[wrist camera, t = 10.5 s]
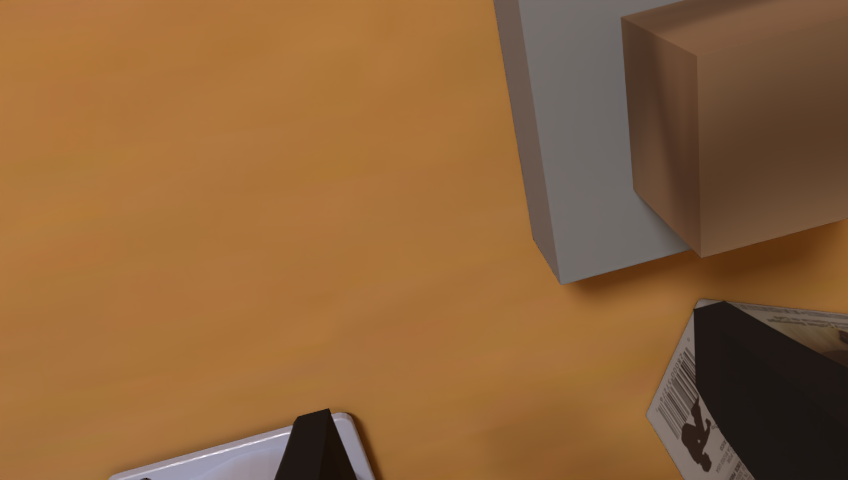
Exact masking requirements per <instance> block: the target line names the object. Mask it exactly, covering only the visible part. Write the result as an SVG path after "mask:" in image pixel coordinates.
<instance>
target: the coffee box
mask: <svg viewBox="0 0 848 480" xmlns="http://www.w3.org/2000/svg"><path fill="white" fill-rule="evenodd" d="M717 302H721V301H717V300H708V299H700V300H699V301H698V302H697V304H696V306H695V308H699V307H703V306H706V305H710V304H714V303H717ZM726 302H727V301H726ZM727 303H729V304H731V305H733V306H735V307H737V308H738V309H740V310H742V311H744V312H746V313H747V314H749V315H751V316H753V317H754V318H756V319H758V320H760V321H761V322H763V323H765V324H767V325H769V326H770V327H772V328H774V329H776V330H778V331H779V332H781V333H783V334H785V335H787V336H788V337H790V338H792V339H794V340H796V341H797V342H799V343H801V344H803V345H805V346H807V347H809V348H810V349H812V350H814V351H816V352H818V353H820V354H822V355H824V356H826V357H828V358H830V359H832V360H834V361H836V362H838V363H840V364H842V365H844V366H846V367H848V314H842V313H832V312H823V311H813V310H804V309H794V308H785V307H775V306H765V305H756V304H747V303H737V302H727ZM646 417H647V419H648V420H649V422H650V423H651V425H652V426H653V428H654V430H655V431H656V433H657V435H658V436H659V438H660V439H661V441H662V443H663V444H664V446H665V448H666V450H667V452H668V453H669V455H670V457H671V458H672V460H673V462H674V463H675V465H676V467H677V468H678V470H679V472H680V474H681V475H682V477H683V479H684V480H755V479H754V477H753V476H752V475H751V473H750V472H749V471H748V469H747V468H746V466H745V465H744V464H743V462H742V461H741V460H740V458H739V457H738V456H737V454H736V453H735V451H734V450H733V449H732V447H731V446H730V445H729V443H728V442H727V441H726V439H725V438H724V436H723V435H722V434H721V432H720V430H719V428H718V427H717V425H716V423H715V422H714V420H713V418H712V416H711V415H710V413H709V411H708V409H707V407H706V406H705V404H704V402H703V400H702V398H701V396H700V395H699V393H698V391H697V389H696V384H695V348H694V312H693V313H692V315H691V317H690V320H689V322H688V324H687V326H686V329H685V331H684V333H683V335H682V337H681V339H680V341H679V344H678V346H677V348H676V350H675V352H674V354H673V357H672V359H671V361H670V363H669V365H668V368H667V370H666V372H665V374H664V376H663V379H662V381H661V383H660V385H659V387H658V390H657V392H656V394H655V396H654V398H653V401H652V403H651V405H650V407H649V409H648V412H647V414H646Z"/></svg>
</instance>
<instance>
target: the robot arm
mask: <svg viewBox="0 0 848 480" xmlns="http://www.w3.org/2000/svg"><path fill="white" fill-rule="evenodd" d="M693 312H694V348H695V384H696V389H697V391H698V393H699V395H700V396H701V398H702V400H703V402H704V404H705V406H706V407H707V409H708V411H709V413H710V415H711V416H712V418H713V420H714V422H715V423H716V425H717V427H718V428H719V430H720V432H721V434H722V435H723V436H724V438H725V439H726V441H727V442H728V443H729V445H730V446H731V447H732V449H733V450H734V451H735V453H736V454H737V456H738V457H739V458H740V460H741V461H742V462H743V464H744V465H745V466H746V468H747V469H748V471H749V472H750V473H751V475H752V476H753V477H754V479H755V480H848V367H846V366H844V365H842V364H840V363H838V362H836V361H834V360H832V359H830V358H828V357H826V356H824V355H822V354H820V353H818V352H816V351H814V350H812V349H810V348H809V347H807V346H805V345H803V344H801V343H799V342H797V341H796V340H794V339H792V338H790V337H788V336H787V335H785V334H783V333H781V332H779V331H778V330H776V329H774V328H772V327H770V326H769V325H767V324H765V323H763V322H761V321H760V320H758V319H756V318H754V317H753V316H751V315H749V314H747V313H746V312H744V311H742V310H740V309H738V308H737V307H735V306H733V305H731V304H729V303H727V302H726V301H721V302H717V303H714V304H710V305H706V306H703V307H699V308H695V309H693ZM143 478H149V479H151V480H376V479H375V477H374V474H373V471H372V469H371V466H370V463H369V461H368V458H367V455H366V453H365V450H364V448H363V445H362V442H361V440H360V437H359V434H358V432H357V429H356V426H355V424H354V421H353V419H352V417H351V416H350V415H348V414H347V413H342V412H341V413H335V414H331V413H330V410H329V408H328V409H324V410H321V411H317V412H313V413H310V414H306V415H302V416H299V417H297V419H296V420H295V422H294V424H293V425H291V426H288V427H284V428H281V429H277V430H273V431H270V432H266V433H263V434H259V435H255V436H252V437H248V438H244V439H241V440H237V441H234V442H230V443H226V444H223V445H219V446H215V447H212V448H208V449H205V450H201V451H197V452H194V453H190V454H187V455H183V456H179V457H176V458H172V459H168V460H165V461H161V462H158V463H154V464H150V465H147V466H143V467H139V468H136V469H132V470H129V471H125V472H121V473H118V474H115V475H113V476H111V477H110V478H109V479H108V480H146V479H143Z"/></svg>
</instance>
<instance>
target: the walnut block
mask: <svg viewBox="0 0 848 480" xmlns="http://www.w3.org/2000/svg"><path fill="white" fill-rule="evenodd" d="M621 30H622V44H623V57H624V70H625V84H626V97H627V111H628V124H629V138H630V151H631V164H632V178H633V189H634V190H635V191H636V192H637V194H638V195H639V196H640V197H641V198H642V199H643V200H644V201H645V202H646V203H647V204H648V205H649V206H650V207H651V208H652V209H653V210H654V211H655V212H656V213H657V214H658V215H659V216H660V217H661V218H662V219H663V220H664V221H665V222H666V223H667V224H668V225H669V226H670V227H671V228H672V229H673V230H674V231H675V232H676V233H677V234H678V235H679V236H680V237H681V238H682V239H683V240H684V241H685V242H686V243H687V244H688V245H689V246H690V247H691V248H692V249H693V250H694V251H695V252H696V254H697V255H698V256H699V257H700V258H704V257H708V256H711V255H715V254H719V253H722V252H726V251H730V250H733V249H737V248H741V247H744V246H748V245H752V244H755V243H759V242H763V241H767V240H770V239H774V238H778V237H781V236H785V235H789V234H792V233H796V232H800V231H803V230H807V229H811V228H814V227H818V226H822V225H825V224H829V223H833V222H836V221H840V220H844V219H847V218H848V0H683V1H679V2H675V3H672V4H668V5H664V6H660V7H656V8H653V9H649V10H645V11H641V12H637V13H634V14H630V15H626V16H622V17H621Z"/></svg>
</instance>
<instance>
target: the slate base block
mask: <svg viewBox="0 0 848 480" xmlns="http://www.w3.org/2000/svg"><path fill="white" fill-rule="evenodd" d="M679 1H683V0H494V6H495V12H496V18H497V24H498V30H499V36H500V42H501V48H502V54H503V60H504V66H505V72H506V78H507V84H508V90H509V96H510V102H511V108H512V114H513V120H514V126H515V132H516V138H517V144H518V150H519V156H520V162H521V168H522V174H523V180H524V186H525V192H526V198H527V204H528V210H529V216H530V222H531V228H532V234H533V239H534V241H535V242H536V244H537V246H538V248H539V249H540V251H541V253H542V254H543V256H544V258H545V259H546V261H547V263H548V264H549V266H550V268H551V269H552V271H553V273H554V274H555V276H556V278H557V280H558V281H559V283H560V285H563V284H567V283H571V282H574V281H578V280H581V279H585V278H589V277H592V276H596V275H600V274H603V273H607V272H611V271H614V270H618V269H622V268H625V267H629V266H632V265H636V264H640V263H643V262H647V261H651V260H654V259H658V258H662V257H665V256H669V255H673V254H676V253H680V252H683V251H687V250H691V249H692V248H691V247H690V246H689V245H688V244H687V243H686V242H685V241H684V240H683V239H682V238H681V237H680V236H679V235H678V234H677V233H676V232H675V231H674V230H673V229H672V228H671V227H670V226H669V225H668V224H667V223H666V222H665V221H664V220H663V219H662V218H661V217H660V216H659V215H658V214H657V213H656V212H655V211H654V210H653V209H652V208H651V207H650V206H649V205H648V204H647V203H646V202H645V201H644V200H643V199H642V198H641V197H640V196H639V195H638V194H637V192H636V191H635V190H634V189H633V178H632V164H631V151H630V138H629V124H628V111H627V97H626V84H625V70H624V57H623V44H622V30H621V17H622V16H626V15H630V14H634V13H637V12H641V11H645V10H649V9H653V8H656V7H660V6H664V5H668V4H672V3H675V2H679Z"/></svg>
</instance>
